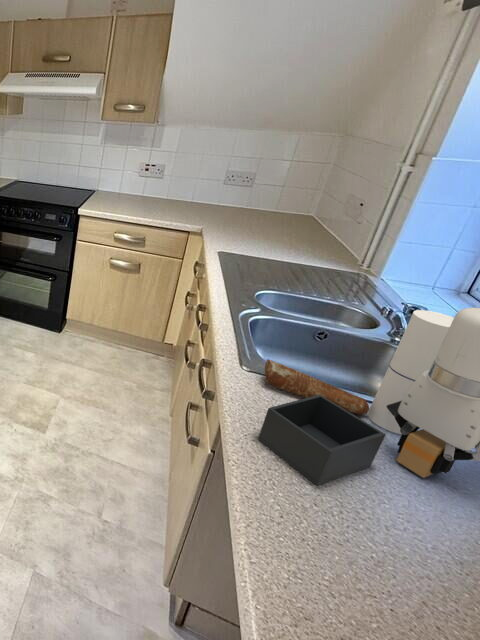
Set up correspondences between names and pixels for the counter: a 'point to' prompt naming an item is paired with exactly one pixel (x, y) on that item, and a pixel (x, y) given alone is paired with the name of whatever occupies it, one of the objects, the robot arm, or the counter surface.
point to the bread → (311, 387)
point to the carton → (421, 452)
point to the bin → (320, 438)
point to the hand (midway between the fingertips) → (420, 460)
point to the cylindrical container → (409, 363)
